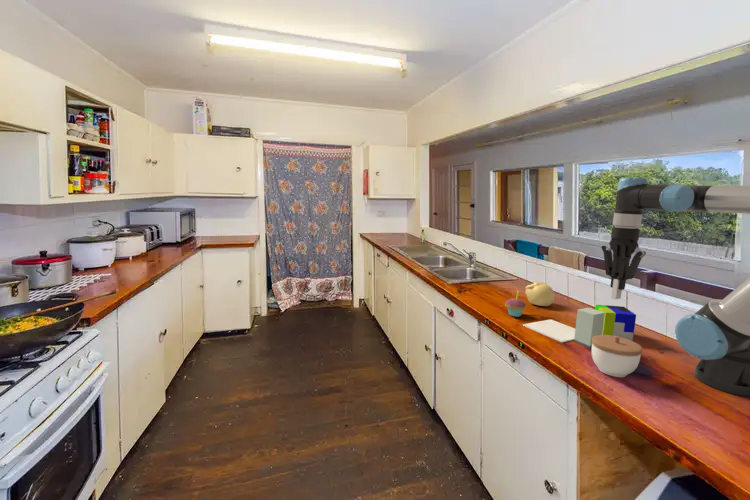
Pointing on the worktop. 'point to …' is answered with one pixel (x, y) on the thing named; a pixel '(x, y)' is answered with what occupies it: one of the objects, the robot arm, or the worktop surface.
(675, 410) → the worktop surface
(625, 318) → the puzzle toy
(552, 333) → the board
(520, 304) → the cupcake
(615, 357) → the lidded bowl
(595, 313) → the sage block
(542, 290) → the sculpture
